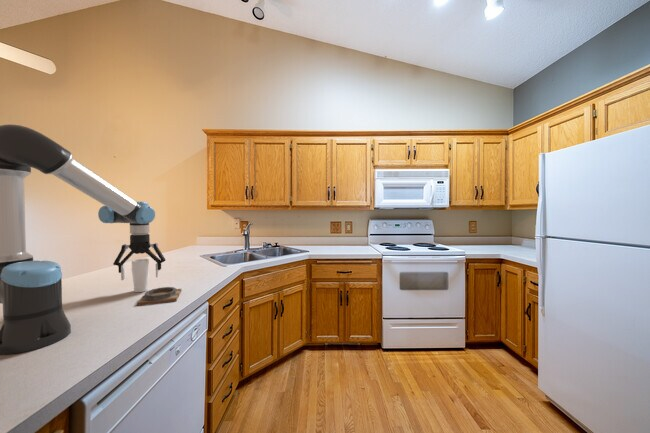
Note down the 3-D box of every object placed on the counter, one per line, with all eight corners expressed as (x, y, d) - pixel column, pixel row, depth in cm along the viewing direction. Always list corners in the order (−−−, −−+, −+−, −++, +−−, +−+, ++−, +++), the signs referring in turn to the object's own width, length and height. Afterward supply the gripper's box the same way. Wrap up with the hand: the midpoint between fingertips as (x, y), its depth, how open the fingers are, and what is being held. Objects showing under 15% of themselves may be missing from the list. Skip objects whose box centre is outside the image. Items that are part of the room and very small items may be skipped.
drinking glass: (134, 289, 123) (133, 259, 122) (150, 287, 126) (150, 258, 125) (130, 294, 117) (129, 262, 116) (147, 292, 120) (147, 260, 119)
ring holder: (176, 301, 108) (176, 294, 108) (137, 305, 103) (137, 298, 103) (181, 291, 121) (181, 284, 121) (146, 294, 116) (146, 288, 116)
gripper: (171, 232, 128) (172, 273, 129) (110, 234, 119) (111, 278, 120) (168, 233, 121) (169, 277, 122) (103, 235, 112) (104, 282, 113)
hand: (140, 278), depth 121 cm, fingers open, 13 cm apart
